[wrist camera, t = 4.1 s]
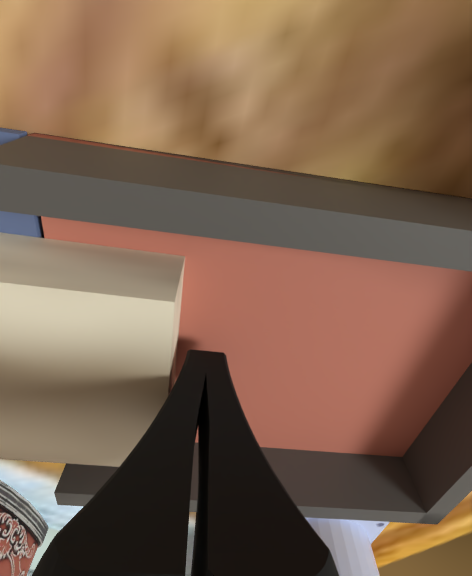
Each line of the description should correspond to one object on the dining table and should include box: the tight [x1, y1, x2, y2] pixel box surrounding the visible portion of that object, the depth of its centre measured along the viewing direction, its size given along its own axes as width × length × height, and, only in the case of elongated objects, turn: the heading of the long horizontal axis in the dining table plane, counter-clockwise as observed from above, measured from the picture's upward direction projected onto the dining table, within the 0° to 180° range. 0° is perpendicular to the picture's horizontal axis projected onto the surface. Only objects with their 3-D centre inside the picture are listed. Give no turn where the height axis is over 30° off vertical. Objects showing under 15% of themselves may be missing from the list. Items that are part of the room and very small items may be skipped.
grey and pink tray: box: [0, 133, 472, 524], centre depth 13 cm, size 14×17×3 cm
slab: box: [0, 233, 185, 467], centre depth 12 cm, size 8×7×2 cm
